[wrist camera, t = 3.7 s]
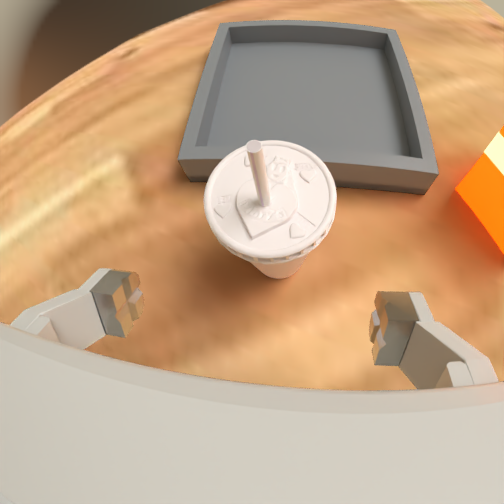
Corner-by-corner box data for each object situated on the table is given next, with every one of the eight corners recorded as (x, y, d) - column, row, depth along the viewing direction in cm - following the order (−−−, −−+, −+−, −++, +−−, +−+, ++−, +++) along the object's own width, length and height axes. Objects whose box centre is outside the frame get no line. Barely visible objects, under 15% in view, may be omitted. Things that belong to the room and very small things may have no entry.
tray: (190, 181, 27) (177, 159, 23) (225, 45, 33) (220, 23, 29) (424, 194, 24) (438, 173, 20) (390, 52, 30) (395, 30, 26)
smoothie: (223, 281, 24) (141, 190, 10) (253, 205, 25) (214, 68, 12) (306, 308, 22) (326, 243, 9) (332, 228, 24) (364, 94, 11)
